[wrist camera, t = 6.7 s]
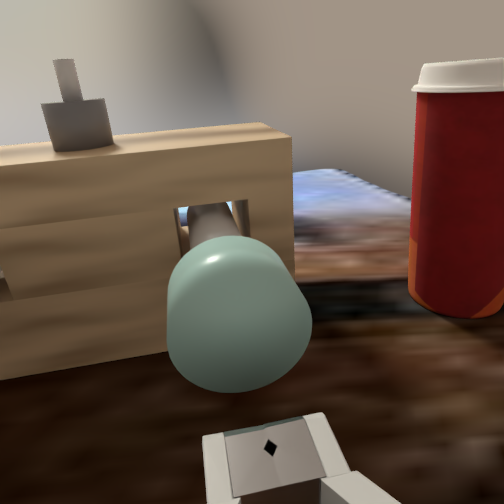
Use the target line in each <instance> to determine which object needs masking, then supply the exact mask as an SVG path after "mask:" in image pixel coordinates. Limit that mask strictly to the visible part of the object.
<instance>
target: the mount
mask: <svg viewBox="0 0 504 504" xmlns="http://www.w3.org/2000/svg"><path fill="white" fill-rule="evenodd" d="M112 137H113V141H114V144H112V145H109V146H106V147H101V148H96V149H90V150H82V151H70V152H58V151H54V149H53V146H52V142H51V141H49V142H39V143H28V144H17V145H6V146H0V266H1V269H2V270H1V272H0V380H5V379H10V378H16V377H22V376H28V375H33V374H39V373H45V372H51V371H56V370H62V369H68V368H74V367H79V366H85V365H91V364H97V363H102V362H108V361H114V360H120V359H125V358H131V357H137V356H143V355H148V354H154V353H160V352H165V351H168V349H167V296H168V284H169V280H170V277H171V274H172V272H173V270H174V268H175V266H176V265H177V264H178V262H179V261H180V260H181V259H182V257H183V256H184V255H185V254H186V253H188V252H189V251H190V241H189V231H188V226H186V227H181V225H180V218H179V212H178V208H179V207H187V206H195V205H204V204H212V203H220V202H228V201H231V202H232V213H233V218H234V220H235V222H236V224H237V226H238V229H239V231H240V233H241V235H242V236H244V237H249V238H252V239H255V240H258V241H260V242H262V243H264V244H265V245H267V246H269V247H270V248H271V249H272V250H273V251H275V252H276V254H277V255H278V256H279V257H280V259H281V260H282V262H283V263H284V265H285V267H286V268H287V270H288V272H289V273H290V275H291V276H292V278H293V280H294V281H295V263H294V219H293V175H292V137H290V136H288V135H286V134H284V133H282V132H280V131H278V130H275V129H273V128H271V127H269V126H267V125H265V124H263V123H261V122H255V123H244V124H233V125H223V126H212V127H202V128H190V129H180V130H168V131H157V132H147V133H136V134H126V135H114V136H112Z"/></svg>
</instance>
